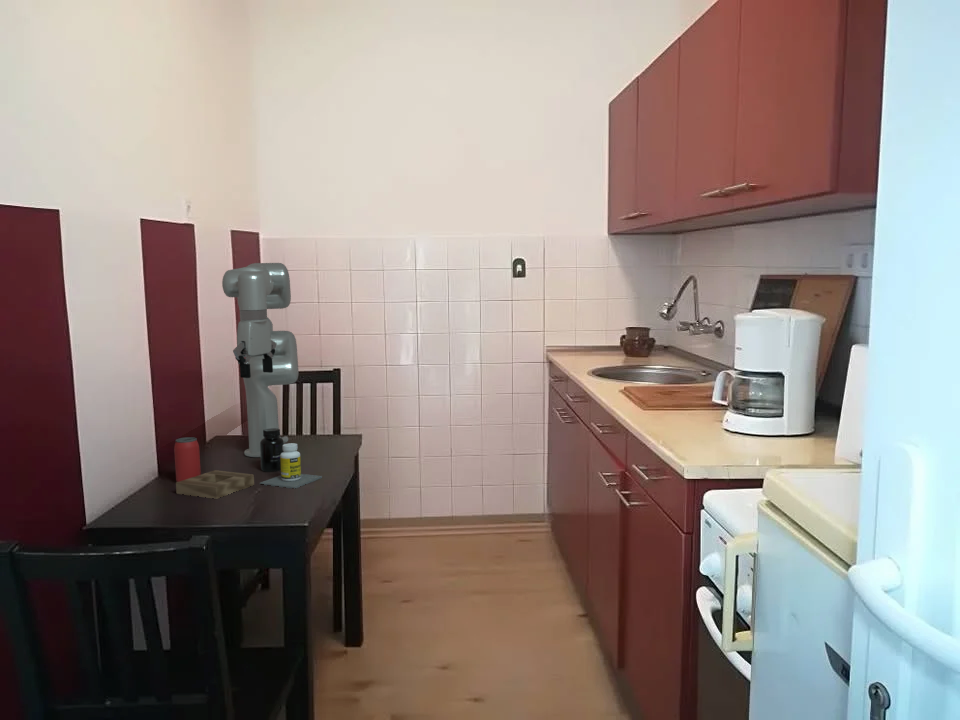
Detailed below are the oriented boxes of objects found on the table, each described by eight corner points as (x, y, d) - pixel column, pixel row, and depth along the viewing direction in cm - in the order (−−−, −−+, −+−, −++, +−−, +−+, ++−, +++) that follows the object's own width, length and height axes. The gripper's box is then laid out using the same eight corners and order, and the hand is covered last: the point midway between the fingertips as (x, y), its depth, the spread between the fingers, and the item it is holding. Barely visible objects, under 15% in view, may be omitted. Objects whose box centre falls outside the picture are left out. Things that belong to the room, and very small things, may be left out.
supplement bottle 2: (291, 482, 208) (289, 447, 207) (277, 480, 211) (275, 445, 210) (305, 478, 212) (303, 443, 211) (291, 475, 215) (289, 441, 214)
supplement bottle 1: (278, 472, 221) (276, 432, 220) (257, 472, 223) (254, 431, 221) (289, 466, 228) (287, 427, 227) (268, 466, 229) (265, 427, 228)
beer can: (206, 478, 216) (203, 437, 215) (190, 484, 210) (187, 442, 209) (187, 477, 218) (184, 436, 217) (171, 483, 212) (168, 441, 211)
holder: (215, 480, 214) (214, 470, 214) (254, 485, 208) (253, 474, 208) (176, 493, 201) (175, 482, 201) (216, 499, 195) (215, 487, 195)
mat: (288, 474, 219) (288, 472, 219) (322, 477, 214) (322, 476, 214) (259, 484, 208) (259, 482, 208) (294, 488, 203) (294, 487, 203)
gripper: (263, 313, 227) (266, 369, 230) (222, 318, 211) (225, 379, 214) (283, 313, 224) (286, 371, 227) (243, 319, 208) (247, 380, 211)
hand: (257, 374), depth 220 cm, fingers open, 9 cm apart
